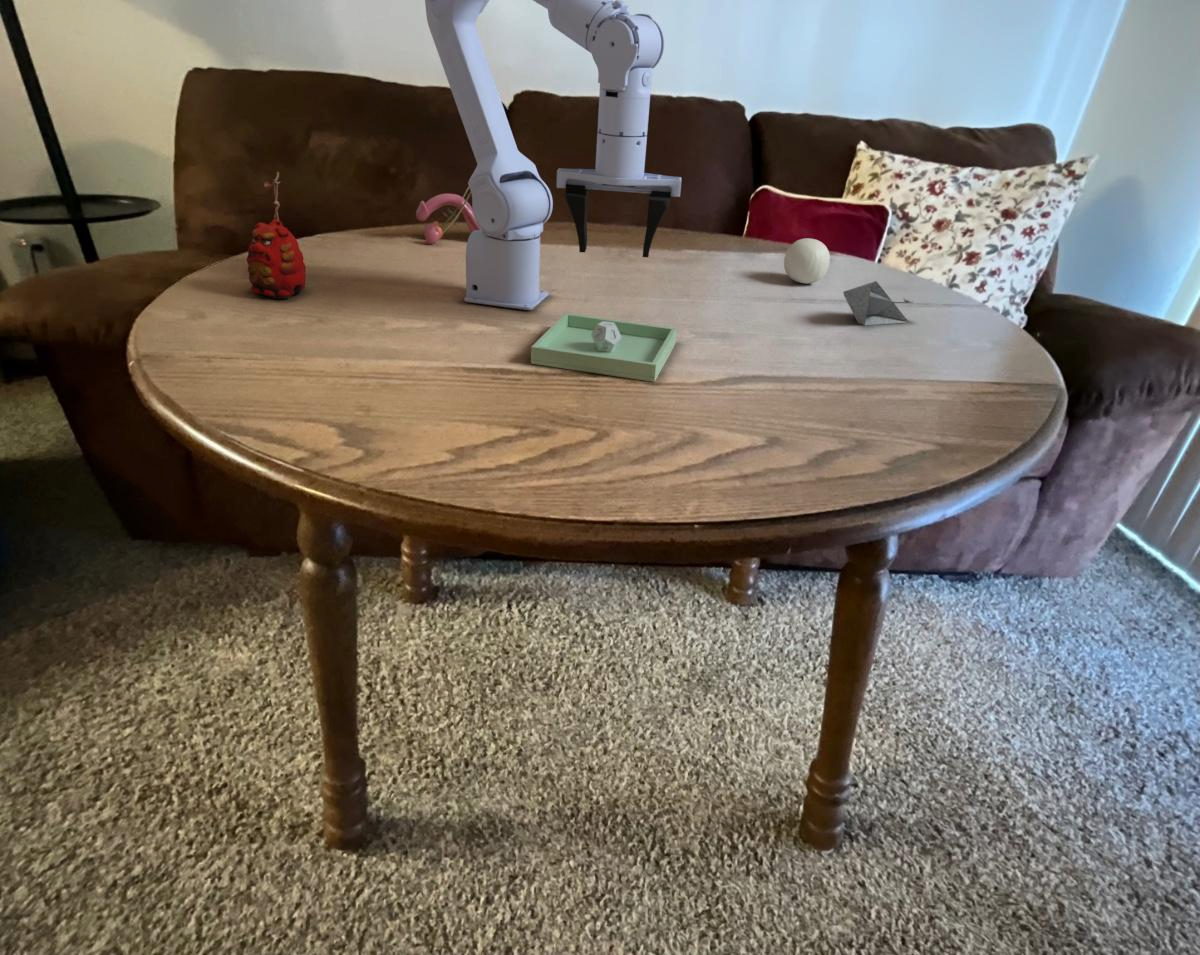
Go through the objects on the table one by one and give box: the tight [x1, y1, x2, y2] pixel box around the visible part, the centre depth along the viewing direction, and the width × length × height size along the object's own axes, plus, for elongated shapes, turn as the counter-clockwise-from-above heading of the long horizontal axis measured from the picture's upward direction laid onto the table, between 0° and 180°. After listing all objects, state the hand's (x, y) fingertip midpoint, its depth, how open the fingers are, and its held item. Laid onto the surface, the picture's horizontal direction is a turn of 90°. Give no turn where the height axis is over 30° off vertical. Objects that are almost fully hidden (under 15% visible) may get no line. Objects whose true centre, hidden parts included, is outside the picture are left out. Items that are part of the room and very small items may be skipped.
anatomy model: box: [415, 185, 482, 245], centre depth 141 cm, size 10×14×15 cm
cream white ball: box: [783, 237, 831, 285], centre depth 130 cm, size 7×7×7 cm
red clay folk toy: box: [245, 171, 307, 300], centre depth 109 cm, size 8×7×15 cm
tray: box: [530, 312, 678, 383], centre depth 99 cm, size 14×13×2 cm
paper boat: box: [843, 280, 914, 326], centre depth 113 cm, size 12×6×9 cm
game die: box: [591, 321, 622, 352], centre depth 98 cm, size 4×4×3 cm
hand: (614, 252), depth 103 cm, fingers open, 7 cm apart
